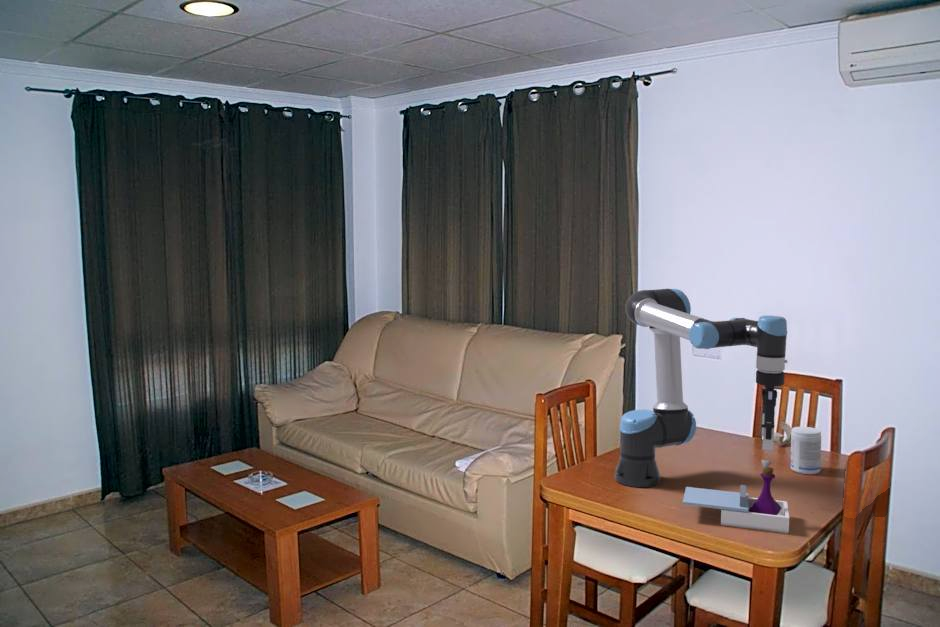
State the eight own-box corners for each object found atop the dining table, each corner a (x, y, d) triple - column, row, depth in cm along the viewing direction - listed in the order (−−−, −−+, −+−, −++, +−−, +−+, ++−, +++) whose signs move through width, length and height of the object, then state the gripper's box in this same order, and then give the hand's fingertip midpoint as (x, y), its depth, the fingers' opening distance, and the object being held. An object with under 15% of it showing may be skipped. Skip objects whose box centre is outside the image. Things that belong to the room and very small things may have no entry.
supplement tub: (825, 471, 251) (827, 430, 249) (810, 477, 246) (811, 435, 244) (799, 464, 259) (801, 424, 257) (784, 469, 254) (785, 429, 252)
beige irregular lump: (766, 442, 281) (770, 418, 284) (766, 446, 286) (770, 422, 289) (790, 446, 277) (793, 421, 280) (790, 450, 282) (793, 426, 285)
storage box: (720, 524, 208) (721, 509, 208) (722, 508, 220) (722, 494, 220) (788, 533, 202) (789, 518, 201) (786, 516, 214) (786, 501, 213)
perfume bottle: (755, 512, 215) (756, 454, 213) (781, 518, 211) (783, 458, 208) (748, 521, 209) (750, 461, 207) (775, 527, 205) (777, 465, 202)
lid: (682, 504, 211) (682, 491, 211) (686, 489, 223) (686, 477, 223) (748, 512, 205) (748, 499, 204) (748, 496, 217) (748, 484, 216)
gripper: (786, 380, 192) (783, 457, 194) (782, 363, 215) (779, 431, 217) (756, 378, 194) (753, 454, 197) (755, 361, 217) (752, 429, 220)
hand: (767, 442), depth 207 cm, fingers open, 13 cm apart
